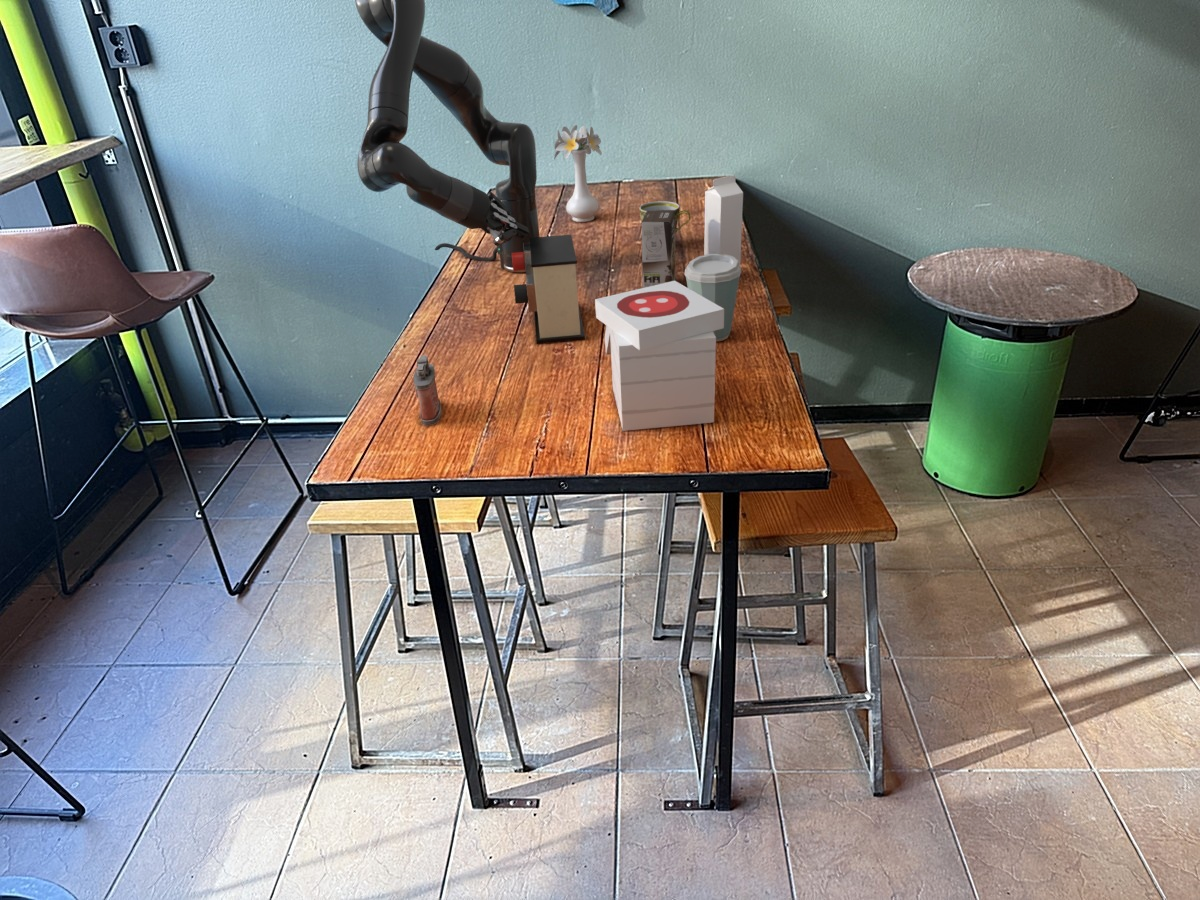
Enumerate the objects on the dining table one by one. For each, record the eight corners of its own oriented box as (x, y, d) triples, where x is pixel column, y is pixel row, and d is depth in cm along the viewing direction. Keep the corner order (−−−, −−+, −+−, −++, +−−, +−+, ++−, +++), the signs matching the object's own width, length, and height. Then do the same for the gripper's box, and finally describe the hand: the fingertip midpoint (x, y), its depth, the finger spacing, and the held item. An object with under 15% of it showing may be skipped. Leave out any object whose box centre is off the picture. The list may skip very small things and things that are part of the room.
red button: (513, 273, 166) (511, 256, 164) (513, 267, 169) (511, 250, 168) (525, 272, 166) (523, 255, 165) (525, 266, 170) (523, 249, 168)
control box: (532, 344, 162) (524, 266, 154) (530, 310, 177) (522, 237, 169) (585, 339, 163) (579, 261, 154) (578, 306, 178) (573, 233, 169)
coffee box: (671, 294, 181) (670, 221, 172) (642, 294, 182) (640, 221, 174) (676, 279, 188) (676, 209, 180) (648, 279, 190) (646, 209, 181)
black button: (515, 306, 161) (513, 288, 159) (515, 299, 164) (513, 282, 162) (528, 305, 161) (526, 287, 159) (527, 298, 164) (526, 281, 162)
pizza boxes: (692, 349, 157) (693, 257, 147) (728, 427, 131) (732, 322, 122) (592, 358, 156) (586, 265, 146) (609, 439, 130) (603, 333, 121)
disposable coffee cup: (725, 351, 155) (727, 274, 147) (674, 340, 160) (674, 266, 152) (747, 330, 163) (751, 256, 155) (698, 321, 168) (699, 249, 160)
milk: (740, 276, 189) (744, 177, 177) (718, 281, 186) (722, 182, 174) (724, 268, 193) (727, 172, 181) (702, 274, 191) (705, 176, 179)
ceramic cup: (634, 250, 207) (633, 211, 202) (647, 238, 215) (647, 200, 210) (684, 254, 203) (684, 214, 198) (695, 242, 211) (696, 202, 205)
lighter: (423, 403, 144) (413, 351, 138) (443, 401, 144) (434, 349, 139) (418, 426, 137) (408, 372, 132) (439, 424, 137) (429, 370, 132)
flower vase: (602, 208, 242) (597, 117, 229) (607, 226, 226) (602, 130, 213) (557, 211, 241) (550, 121, 228) (560, 229, 226) (552, 134, 213)
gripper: (441, 189, 162) (508, 221, 175) (453, 240, 157) (521, 269, 169) (465, 164, 158) (531, 199, 171) (478, 215, 153) (545, 247, 165)
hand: (526, 234), depth 170 cm, fingers closed
